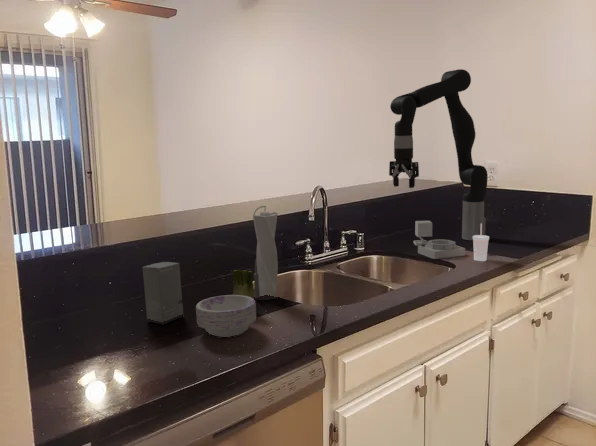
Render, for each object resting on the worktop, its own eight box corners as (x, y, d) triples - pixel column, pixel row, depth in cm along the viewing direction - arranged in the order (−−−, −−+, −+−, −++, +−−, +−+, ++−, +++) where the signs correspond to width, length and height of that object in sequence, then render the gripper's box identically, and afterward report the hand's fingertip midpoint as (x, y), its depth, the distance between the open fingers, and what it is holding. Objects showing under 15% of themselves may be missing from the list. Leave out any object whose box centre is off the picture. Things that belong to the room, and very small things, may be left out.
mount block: (447, 249, 228) (447, 237, 227) (465, 255, 217) (465, 243, 216) (417, 253, 223) (418, 241, 222) (434, 259, 212) (434, 246, 211)
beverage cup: (489, 261, 206) (490, 225, 204) (472, 261, 207) (473, 224, 205) (487, 257, 212) (488, 222, 209) (471, 257, 213) (471, 222, 211)
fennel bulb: (256, 310, 158) (254, 269, 156) (244, 314, 154) (242, 273, 152) (242, 306, 162) (241, 266, 160) (230, 310, 158) (228, 270, 156)
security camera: (432, 245, 237) (432, 222, 235) (415, 245, 237) (416, 223, 235) (429, 242, 243) (429, 220, 241) (413, 242, 243) (413, 220, 241)
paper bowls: (217, 319, 151) (215, 291, 150) (266, 325, 146) (265, 296, 144) (185, 338, 138) (183, 308, 136) (239, 346, 132) (237, 314, 130)
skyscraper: (253, 293, 174) (249, 206, 170) (279, 291, 175) (276, 204, 171) (254, 301, 166) (250, 209, 161) (281, 299, 167) (278, 208, 162)
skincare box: (163, 326, 146) (159, 269, 144) (144, 322, 150) (140, 266, 148) (185, 317, 154) (181, 262, 151) (167, 313, 157) (163, 259, 155)
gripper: (423, 146, 218) (423, 187, 220) (397, 146, 229) (397, 185, 232) (410, 147, 213) (410, 189, 216) (384, 147, 225) (384, 186, 228)
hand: (403, 187), depth 224 cm, fingers open, 8 cm apart
